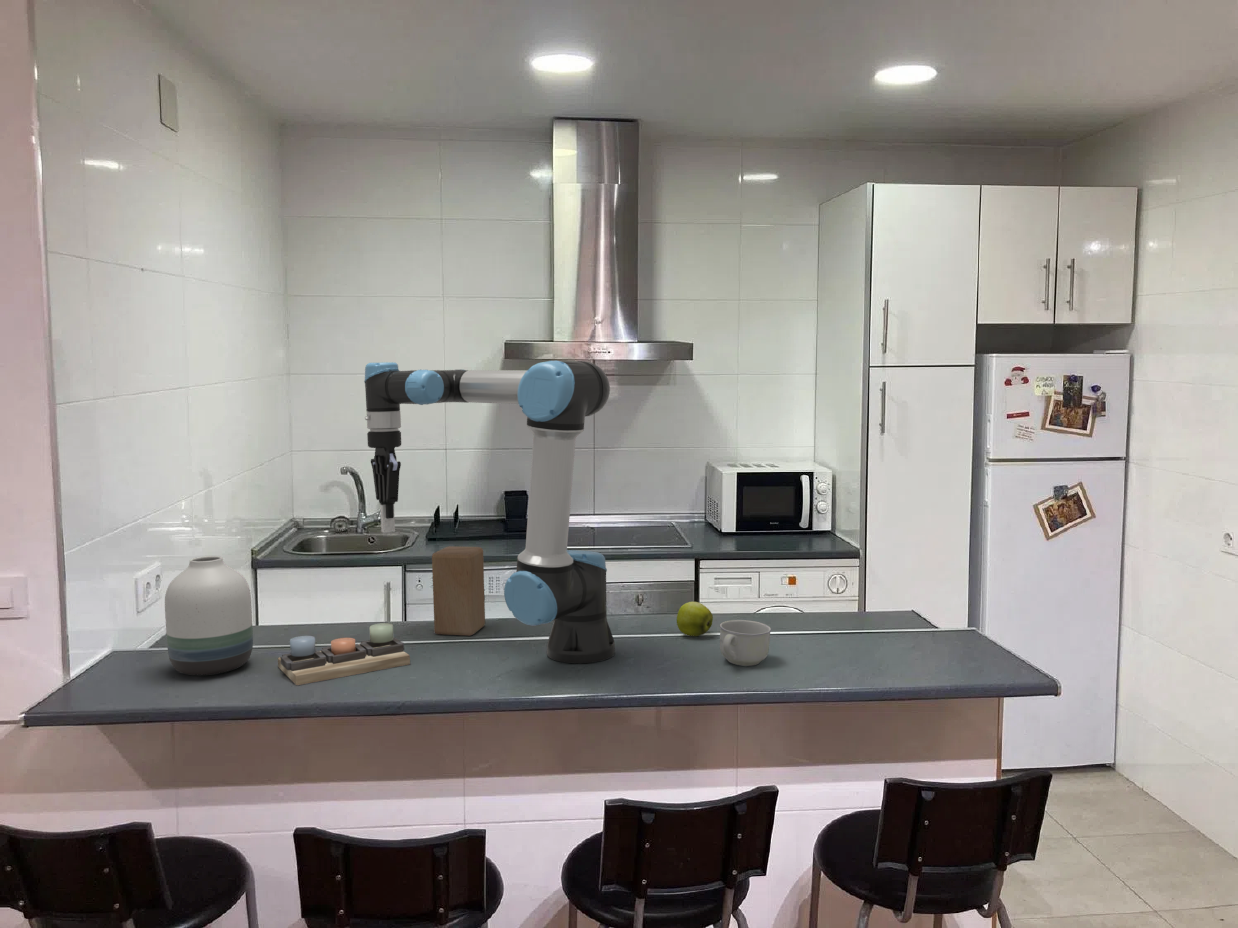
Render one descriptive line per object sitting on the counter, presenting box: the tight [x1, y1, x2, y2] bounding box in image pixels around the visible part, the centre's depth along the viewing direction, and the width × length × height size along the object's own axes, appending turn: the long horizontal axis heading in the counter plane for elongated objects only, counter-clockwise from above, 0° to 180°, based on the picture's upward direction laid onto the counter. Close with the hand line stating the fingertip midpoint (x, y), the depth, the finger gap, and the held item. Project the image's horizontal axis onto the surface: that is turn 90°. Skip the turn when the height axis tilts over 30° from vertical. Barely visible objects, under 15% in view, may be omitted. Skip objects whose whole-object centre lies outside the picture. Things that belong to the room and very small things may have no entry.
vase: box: [164, 555, 254, 676], centre depth 204 cm, size 17×17×24 cm
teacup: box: [719, 619, 772, 667], centre depth 203 cm, size 14×11×8 cm
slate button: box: [289, 635, 317, 656], centre depth 201 cm, size 5×5×3 cm
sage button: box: [369, 622, 394, 643], centre depth 210 cm, size 5×5×3 cm
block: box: [431, 545, 486, 637], centre depth 232 cm, size 10×10×20 cm
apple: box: [676, 601, 714, 637], centre depth 225 cm, size 8×9×8 cm
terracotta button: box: [330, 637, 356, 655], centre depth 206 cm, size 5×5×3 cm
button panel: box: [277, 637, 411, 686], centre depth 206 cm, size 15×25×4 cm, turn 123°
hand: (388, 531), depth 222 cm, fingers closed
